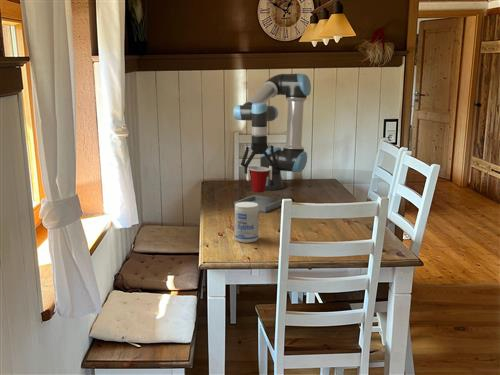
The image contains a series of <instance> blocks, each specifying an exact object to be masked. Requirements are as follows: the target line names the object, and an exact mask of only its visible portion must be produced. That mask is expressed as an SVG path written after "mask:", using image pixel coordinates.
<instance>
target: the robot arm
mask: <svg viewBox="0 0 500 375" xmlns="http://www.w3.org/2000/svg"><path fill="white" fill-rule="evenodd" d="M311 91H312V84H311V80H310V78H309V76H308V75H307V74H306V73H280V74H276V75H274V76H271V77H270V78H268V79H267V80H265V82H263V84H262V85H261V87H260V88H259V89H258V90H257V92H255V93H254V94H253V95H252V96H250V98H249V99H248V100H246V102H244V103H243V104H239V105H235V106H234V108H233V112H232V114H233V118H234V119H235V120H238V121H251V145H250V146H249V145H245V146H244V154H243V156H242V159H241V161H240V166H241V167H243V168H244V174H245V175H246V181H248V182H249V181H250V171H249V167H250V166H249V165H250V164H251V162H252V160H253V159H254V157H255V156H256V155H260V157H259V158H260V167H266V168H269V169H270V171H269V173H268V176H267V181H266V186H265V191H276V190H281V189H284V180H283V178H282V173H281V172H282V171H283V172H291V173H301V172H303V170H305V168H306V166H307V164H308V163H307V162H308V153H307V152H306V151H305V148H304V147H303V145H302V143H303V142H302V139H303V124H304V123H303V122H304V102H305V101H306V100H307V99H308V98H307V97H308V96H309V95H310V94H311ZM276 96H285V99H286V100H287V114H286V115H287V117H286V118H287V119H286V120H287V121H286V140H285V142H286V143H285V145H284V146H283V147H279V146H275V147H274V145H272V144H271V145H268V136H267V135H268V122H273V121H274V120H275V121H276V119H277V118H278V117H279V110H278V108H277V107H276V106H274V105H268V104H267V102H268V101H270V99H272V98H275V97H276ZM250 150H251V153H250V155H249V157H248V154H249V151H250ZM247 157H248V158H247Z"/></svg>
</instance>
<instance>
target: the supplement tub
mask: <svg viewBox="0 0 500 375" xmlns="http://www.w3.org/2000/svg"><path fill="white" fill-rule="evenodd" d="M259 213H260V212H259V208H258V204H257V203H254V202H239V203H236V204H235V208H234V239H235V241H237V242H240V243H245V244H246V243H248V244H249V243H253V242H257V241H258V240H259V224H260V223H259V221H260V220H259V216H260V215H259Z"/></svg>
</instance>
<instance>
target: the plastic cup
mask: <svg viewBox="0 0 500 375" xmlns="http://www.w3.org/2000/svg"><path fill="white" fill-rule="evenodd" d="M248 167H249V178H250V183H251V186H252V187H251V188H252V192H253V193H264V192H265V191H266V190H265V186H266V181H267V176H268V173H269V171H270V169H269V168H266V167H260V166H258V165H257V166H256V165H255V166H253V165H252V166H248Z"/></svg>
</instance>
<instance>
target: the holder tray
mask: <svg viewBox="0 0 500 375" xmlns="http://www.w3.org/2000/svg"><path fill="white" fill-rule="evenodd" d="M282 199H283V198H276V197H269V196H262V195H255V194H253V195H251V196H247V197H244V198H242V199H239V200H237V201H236V200H235V201H234V203H233V205H234V206H233V208H234V209H235V204H236V203H239V202H254V203H257V204H258V208H259V213H263V214H266V213H269V212H272V211H274V210H275V209H279V208H281V207H282V206H281V203H282ZM280 206H281V207H280ZM273 209H274V210H273Z"/></svg>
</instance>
